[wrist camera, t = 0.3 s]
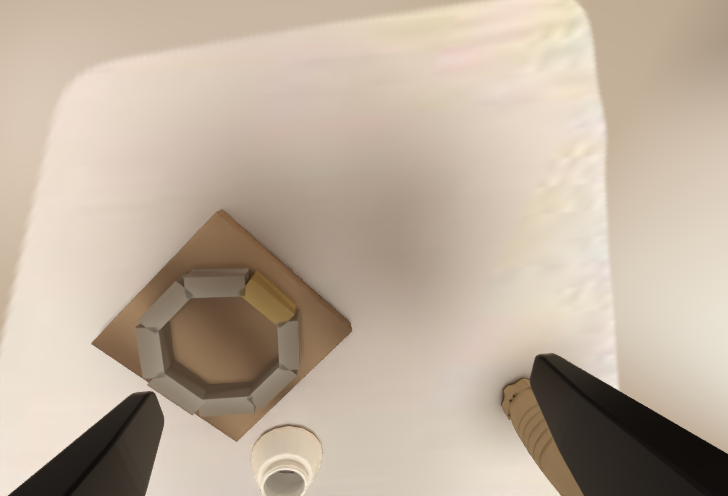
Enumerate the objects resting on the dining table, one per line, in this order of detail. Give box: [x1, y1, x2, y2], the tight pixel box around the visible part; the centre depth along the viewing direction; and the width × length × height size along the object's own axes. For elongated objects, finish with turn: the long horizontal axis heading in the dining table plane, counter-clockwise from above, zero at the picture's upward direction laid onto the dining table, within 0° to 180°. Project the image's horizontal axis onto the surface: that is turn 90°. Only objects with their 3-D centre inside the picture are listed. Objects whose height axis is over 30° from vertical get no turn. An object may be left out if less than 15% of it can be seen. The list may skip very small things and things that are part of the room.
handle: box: [502, 379, 584, 496], centre depth 20 cm, size 5×6×15 cm
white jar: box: [250, 426, 323, 496], centre depth 25 cm, size 5×3×5 cm
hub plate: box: [91, 210, 352, 442], centre depth 22 cm, size 11×11×3 cm
